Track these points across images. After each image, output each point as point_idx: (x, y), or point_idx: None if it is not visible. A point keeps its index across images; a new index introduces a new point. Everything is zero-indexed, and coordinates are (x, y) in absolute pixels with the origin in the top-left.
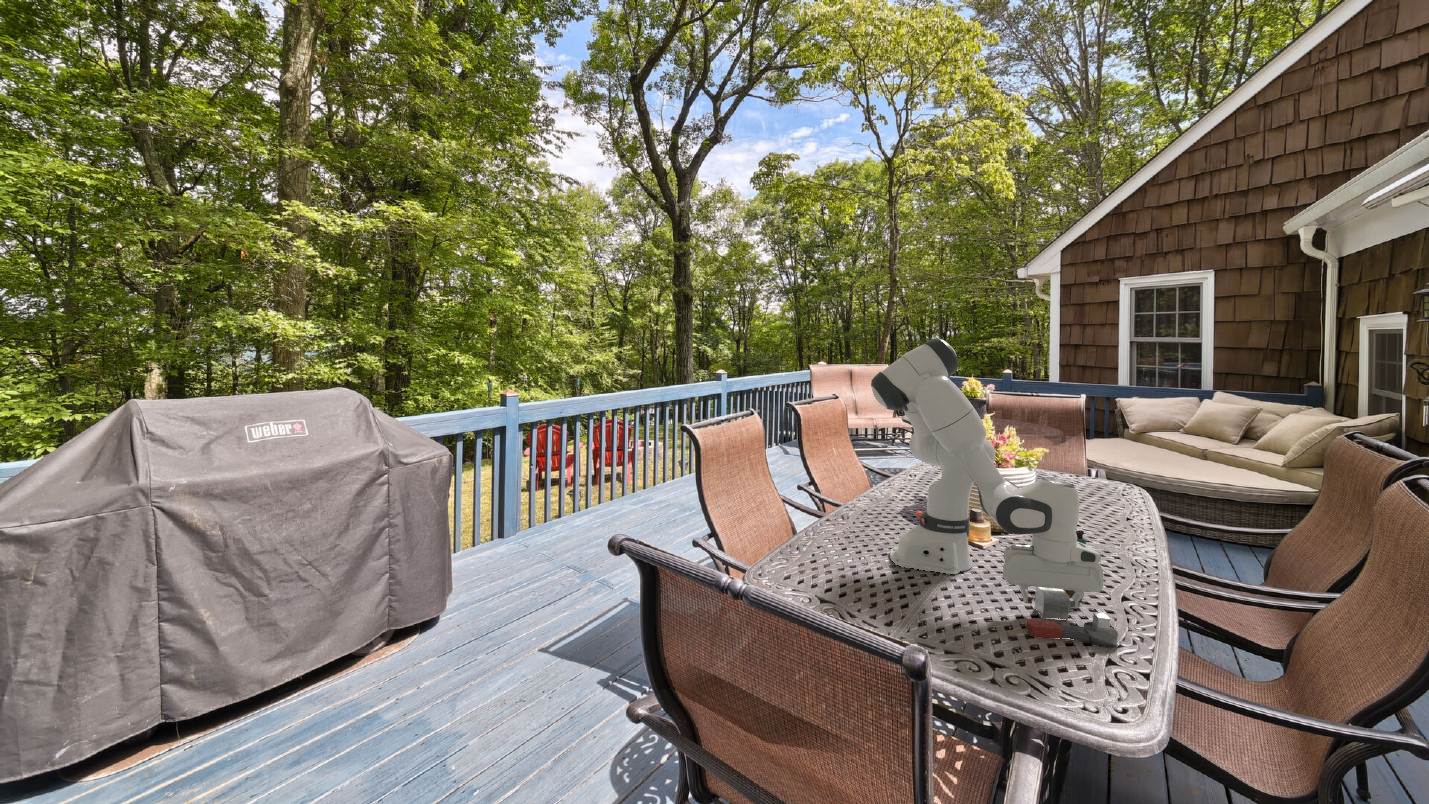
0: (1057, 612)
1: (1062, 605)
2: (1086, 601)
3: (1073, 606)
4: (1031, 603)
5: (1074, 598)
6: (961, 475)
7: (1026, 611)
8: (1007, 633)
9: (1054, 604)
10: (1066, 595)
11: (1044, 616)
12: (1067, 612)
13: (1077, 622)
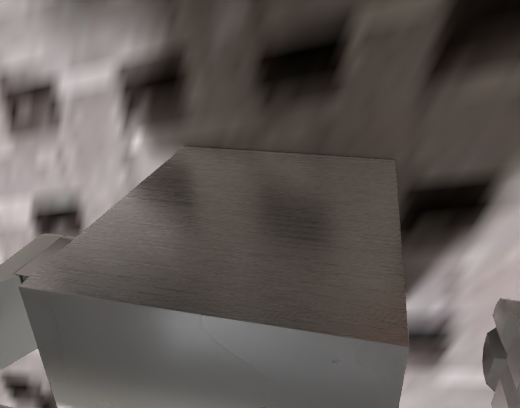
0: (248, 181)
1: (171, 216)
2: (17, 402)
3: (68, 243)
4: (507, 300)
5: (5, 315)
6: None
7: (478, 285)
8: None
9: (261, 230)
10: (52, 312)
11: (379, 169)
12: (152, 179)
13: (113, 140)
